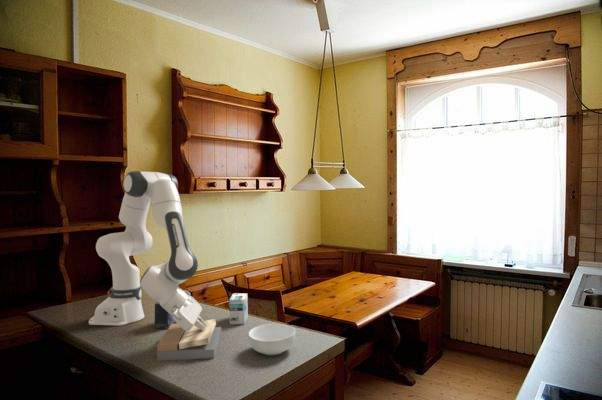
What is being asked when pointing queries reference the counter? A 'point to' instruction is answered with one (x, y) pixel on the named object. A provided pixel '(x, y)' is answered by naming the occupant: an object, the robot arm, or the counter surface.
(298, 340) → the counter surface
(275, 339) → the cereal bowl
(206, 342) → the birch plank
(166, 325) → the small box
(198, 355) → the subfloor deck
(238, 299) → the light bulb box
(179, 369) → the counter surface
